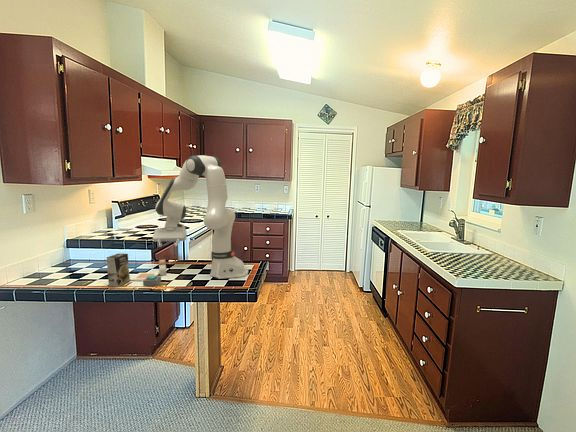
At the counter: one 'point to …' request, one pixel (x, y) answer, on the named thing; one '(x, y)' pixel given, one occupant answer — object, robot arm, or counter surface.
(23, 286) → the counter surface
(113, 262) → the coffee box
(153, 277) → the button
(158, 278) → the button housing
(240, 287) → the counter surface
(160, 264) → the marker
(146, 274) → the picture board
